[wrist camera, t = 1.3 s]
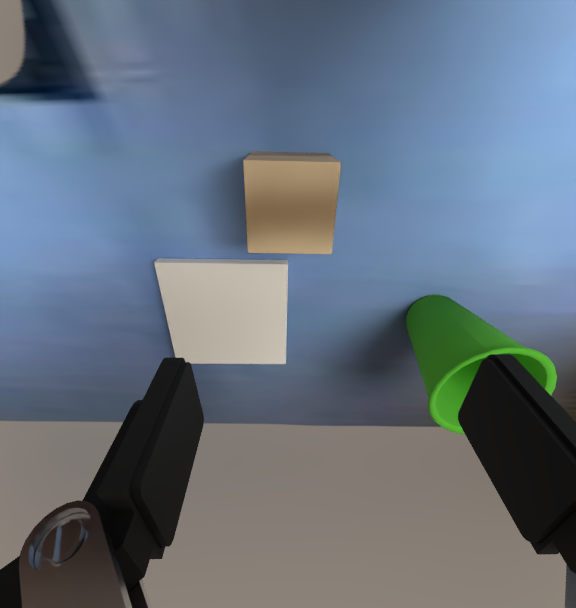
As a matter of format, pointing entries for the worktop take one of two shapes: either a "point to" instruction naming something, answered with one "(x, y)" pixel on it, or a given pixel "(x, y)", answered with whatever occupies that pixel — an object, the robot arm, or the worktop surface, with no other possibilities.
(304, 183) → the block
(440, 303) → the cup
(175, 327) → the panel
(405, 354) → the worktop surface
